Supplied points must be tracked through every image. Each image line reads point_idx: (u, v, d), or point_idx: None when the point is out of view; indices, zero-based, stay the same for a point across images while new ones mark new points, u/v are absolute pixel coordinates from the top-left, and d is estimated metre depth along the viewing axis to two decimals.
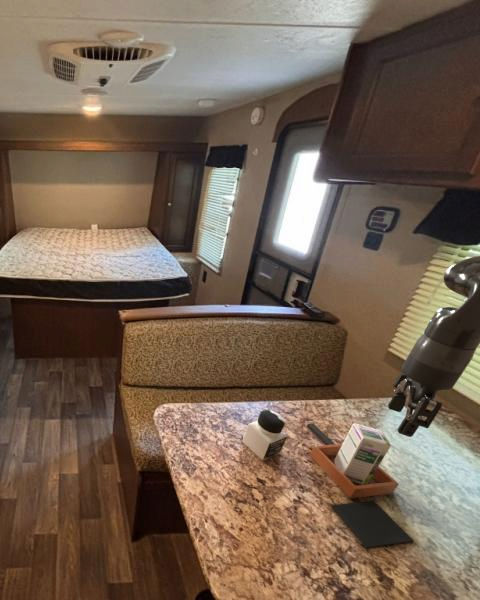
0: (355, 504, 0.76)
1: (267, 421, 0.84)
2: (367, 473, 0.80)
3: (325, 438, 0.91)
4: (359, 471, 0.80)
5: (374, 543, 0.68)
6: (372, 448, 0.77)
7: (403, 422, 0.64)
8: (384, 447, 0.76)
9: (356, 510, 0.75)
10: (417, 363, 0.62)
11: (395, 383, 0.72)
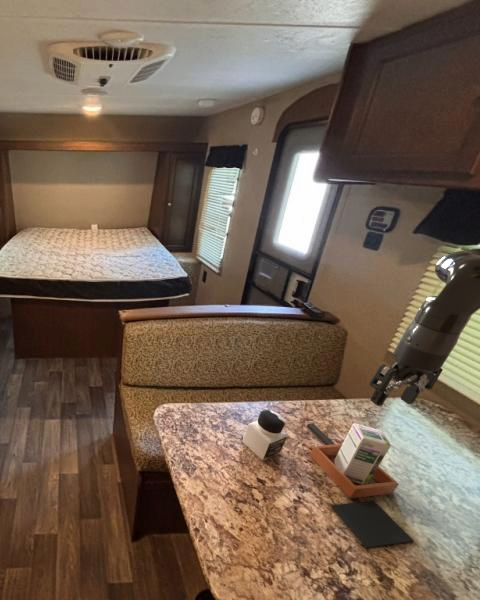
0: (355, 504, 0.76)
1: (267, 421, 0.84)
2: (367, 473, 0.80)
3: (325, 438, 0.91)
4: (359, 471, 0.80)
5: (374, 543, 0.68)
6: (372, 448, 0.77)
7: None
8: (384, 447, 0.76)
9: (356, 510, 0.75)
10: (400, 340, 0.70)
11: None
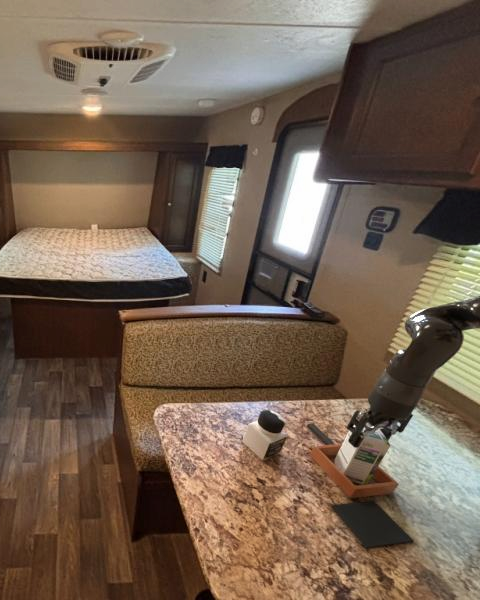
0: (355, 504, 0.76)
1: (267, 421, 0.84)
2: (367, 473, 0.80)
3: (325, 438, 0.91)
4: (359, 471, 0.80)
5: (374, 543, 0.68)
6: (372, 448, 0.77)
7: None
8: (384, 447, 0.76)
9: (356, 510, 0.75)
10: None
11: None
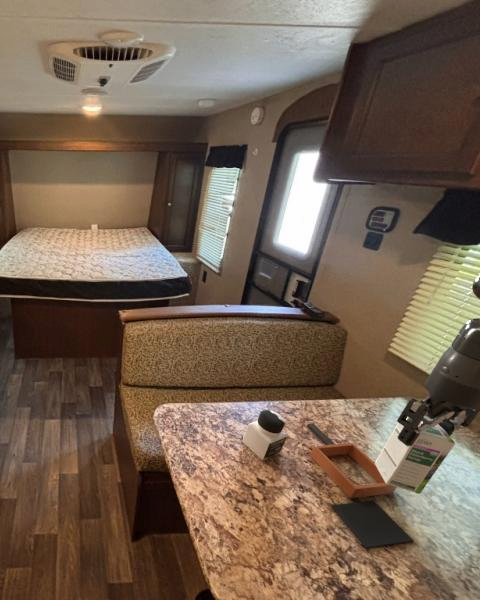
0: (355, 504, 0.76)
1: (267, 421, 0.84)
2: (422, 478, 0.63)
3: (325, 438, 0.91)
4: (411, 476, 0.64)
5: (374, 543, 0.68)
6: (430, 447, 0.61)
7: None
8: (447, 445, 0.60)
9: (356, 510, 0.75)
10: (433, 369, 0.59)
11: None
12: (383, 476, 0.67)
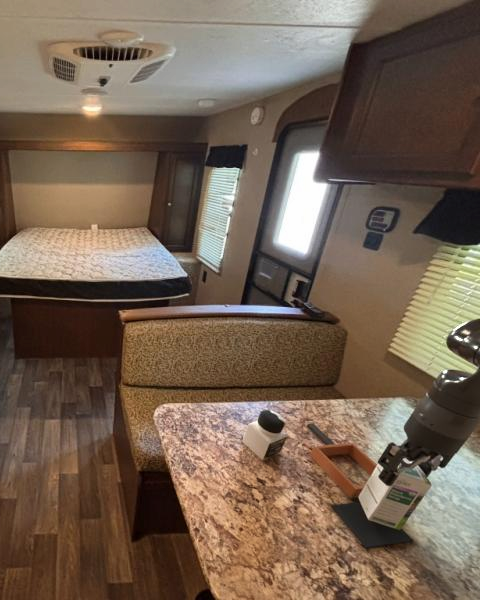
0: (355, 504, 0.76)
1: (267, 421, 0.84)
2: (401, 516, 0.66)
3: (325, 438, 0.91)
4: (391, 513, 0.67)
5: (374, 543, 0.68)
6: (408, 487, 0.64)
7: None
8: (424, 487, 0.63)
9: (356, 510, 0.75)
10: (411, 414, 0.62)
11: None
12: (365, 511, 0.70)
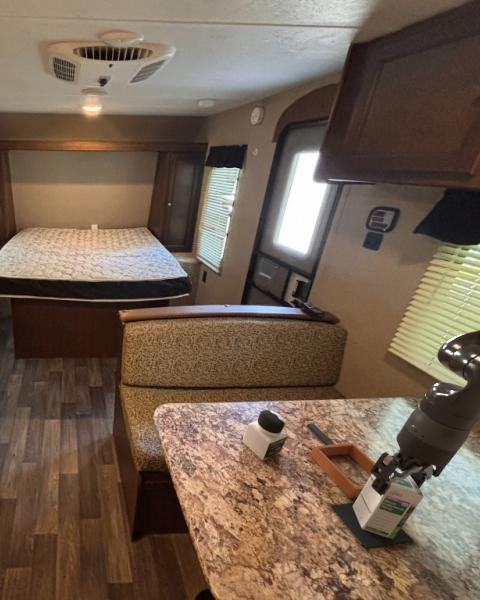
0: None
1: (267, 421, 0.84)
2: (394, 525, 0.68)
3: (325, 438, 0.91)
4: (384, 523, 0.68)
5: (374, 543, 0.68)
6: (401, 498, 0.65)
7: None
8: (416, 498, 0.64)
9: None
10: None
11: None
12: (359, 521, 0.72)
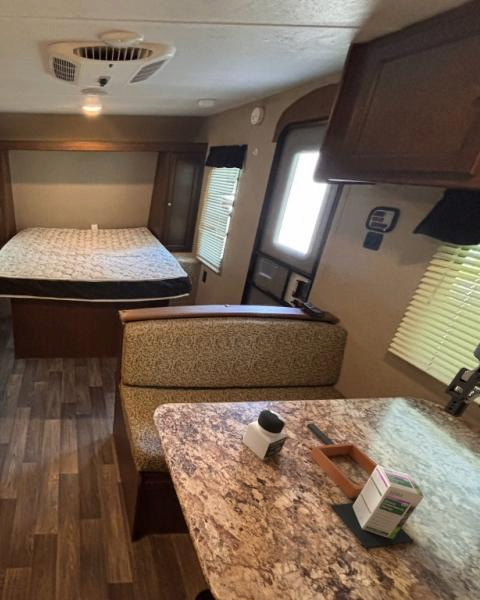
0: None
1: (267, 421, 0.84)
2: (394, 525, 0.68)
3: (325, 438, 0.91)
4: (384, 523, 0.68)
5: (374, 543, 0.68)
6: (401, 498, 0.65)
7: None
8: (416, 498, 0.64)
9: None
10: None
11: None
12: (359, 521, 0.72)
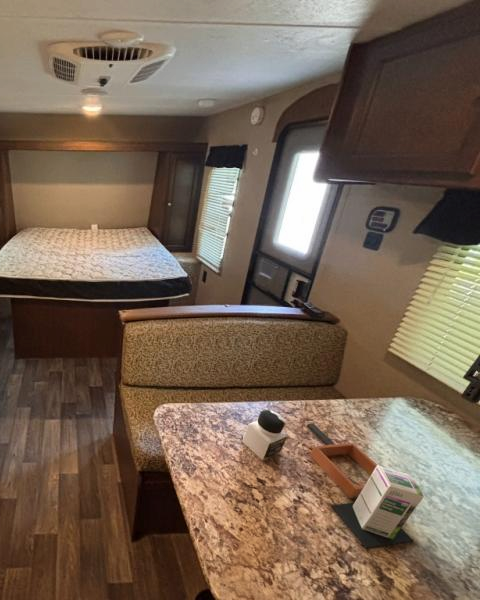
0: None
1: (267, 421, 0.84)
2: (394, 525, 0.68)
3: (325, 438, 0.91)
4: (384, 523, 0.68)
5: (374, 543, 0.68)
6: (401, 498, 0.65)
7: None
8: (416, 498, 0.64)
9: None
10: None
11: None
12: (359, 521, 0.72)
